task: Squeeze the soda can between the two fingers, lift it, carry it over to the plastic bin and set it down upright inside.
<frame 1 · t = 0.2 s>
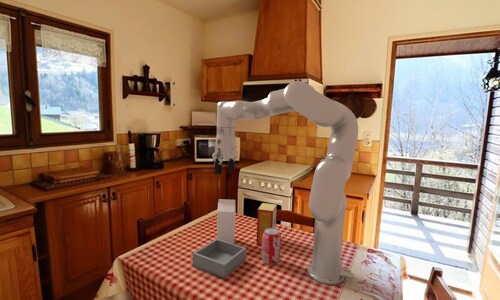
hand: (224, 172, 110), 31 cm above the table, tool pointing down, fingers open, 9 cm apart
bin: (219, 263, 96), on the table
soda can: (270, 261, 99), on the table
milk carton: (225, 242, 113), on the table
baking soda box: (266, 241, 116), on the table
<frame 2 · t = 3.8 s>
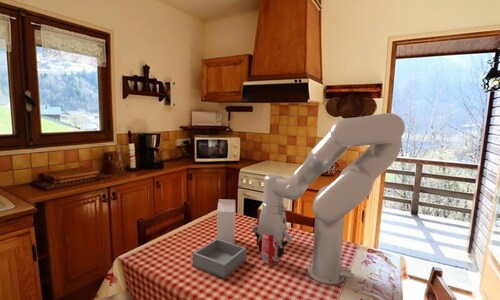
hand: (270, 252, 99), 3 cm above the table, tool pointing down, fingers closed on soda can, 7 cm apart
soda can: (270, 261, 99), on the table, touching gripper
everything else where it was.
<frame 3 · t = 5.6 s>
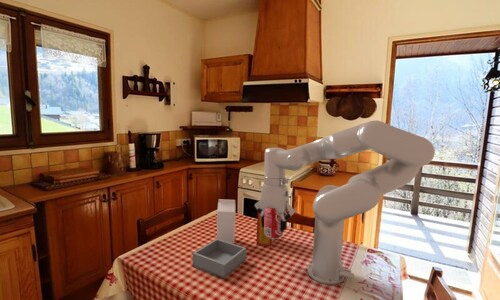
hand: (273, 227, 97), 13 cm above the table, tool pointing down, fingers closed on soda can, 7 cm apart
soda can: (273, 236, 98), point 10 cm above the table, touching gripper
everything else where it was.
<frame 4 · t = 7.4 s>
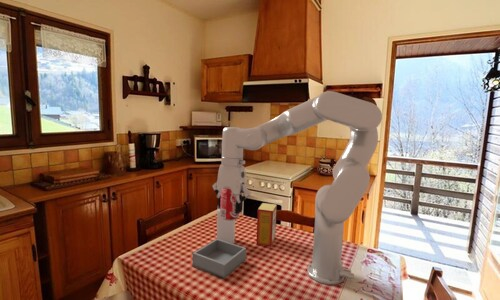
hand: (229, 209, 95), 20 cm above the table, tool pointing down, fingers closed on soda can, 7 cm apart
soda can: (229, 218, 95), point 17 cm above the table, touching gripper
everything else where it was.
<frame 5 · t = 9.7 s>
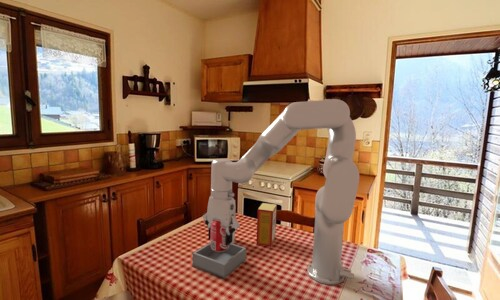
hand: (220, 240, 95), 9 cm above the table, tool pointing down, fingers closed on soda can, 7 cm apart
soda can: (219, 249, 96), point 5 cm above the table, touching gripper
everything else where it was.
when the fingers open (6 cm above the table, at t = 11.3 s): soda can drops 2 cm, resting on bin.
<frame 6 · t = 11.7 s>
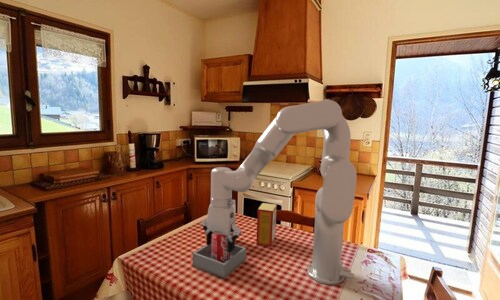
hand: (220, 247, 95), 6 cm above the table, tool pointing down, fingers open, 9 cm apart
soda can: (220, 261, 96), point 1 cm above the table, touching bin
everything else where it was.
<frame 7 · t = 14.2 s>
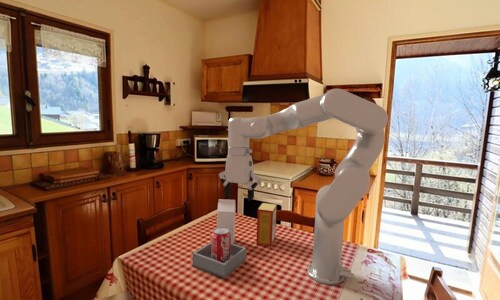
hand: (239, 197, 96), 24 cm above the table, tool pointing down, fingers open, 9 cm apart
nothing on the table moved.
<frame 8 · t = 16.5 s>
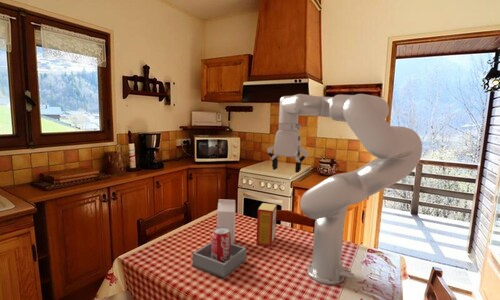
hand: (286, 170, 105), 33 cm above the table, tool pointing down, fingers open, 9 cm apart
nothing on the table moved.
at the end: soda can inside the target area on the bin (0.3 cm from its centre), point 0.6 cm above the bin's base; soda can tilted 0°; the gripper is holding nothing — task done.
